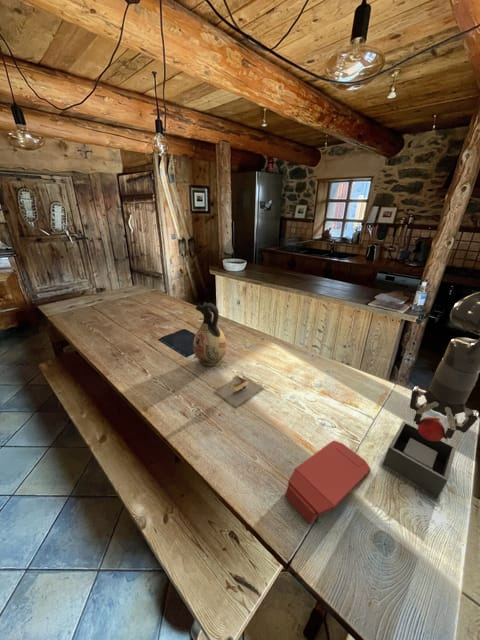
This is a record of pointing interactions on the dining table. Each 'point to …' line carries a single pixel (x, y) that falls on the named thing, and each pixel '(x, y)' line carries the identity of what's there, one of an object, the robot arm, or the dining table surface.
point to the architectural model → (239, 390)
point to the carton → (325, 480)
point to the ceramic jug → (209, 337)
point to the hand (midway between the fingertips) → (431, 429)
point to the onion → (431, 428)
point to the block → (420, 453)
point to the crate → (414, 470)
